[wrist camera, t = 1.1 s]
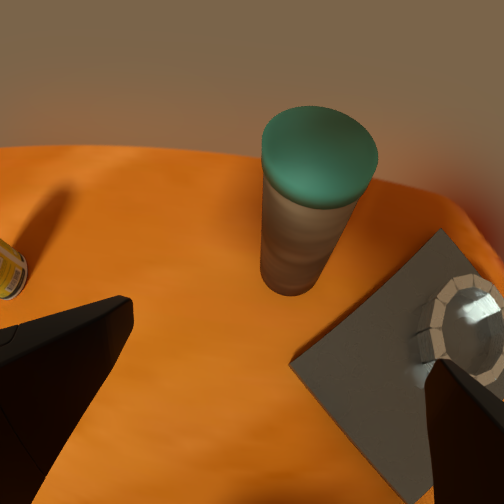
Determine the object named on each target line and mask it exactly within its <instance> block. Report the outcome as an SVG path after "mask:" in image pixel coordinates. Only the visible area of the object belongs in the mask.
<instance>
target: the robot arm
mask: <svg viewBox="0 0 504 504" xmlns="http://www.w3.org/2000/svg"><path fill="white" fill-rule="evenodd" d="M133 326H134V315H133V302H132V300H131V299H130V298H128V297H124V296H121V295H117V296H114V297H111V298H107V299H104V300H100V301H97V302H94V303H90V304H87V305H83V306H80V307H76V308H73V309H70V310H66V311H63V312H59V313H56V314H52V315H49V316H45V317H42V318H39V319H35V320H32V321H28V322H25V323H21V324H19V325H14V326H11V327H7V328H3V329H0V504H31V503H32V501H33V499H34V498H35V496H36V494H37V492H38V490H39V489H40V487H41V485H42V483H43V482H44V480H45V477H46V476H47V474H48V472H49V471H50V469H51V467H52V465H53V464H54V462H55V460H56V459H57V457H58V455H59V454H60V452H61V450H62V448H63V447H64V445H65V443H66V442H67V440H68V439H69V437H70V435H71V434H72V432H73V430H74V429H75V427H76V425H77V424H78V422H79V421H80V419H81V417H82V416H83V414H84V413H85V411H86V409H87V408H88V406H89V405H90V403H91V401H92V400H93V398H94V397H95V395H96V394H97V392H98V390H99V389H100V387H101V386H102V384H103V383H104V381H105V380H106V378H107V377H108V375H109V373H110V372H111V370H112V369H113V367H114V365H115V363H116V361H117V359H118V357H119V355H120V353H121V351H122V349H123V347H124V345H125V343H126V341H127V339H128V337H129V335H130V333H131V331H132V329H133ZM424 390H425V404H426V422H427V433H428V440H429V448H430V456H431V465H432V475H433V487H434V503H435V504H504V402H503V401H502V400H501V399H499V398H498V397H497V396H496V395H494V394H493V393H492V392H491V391H490V390H488V389H487V388H486V387H485V386H483V385H482V384H481V383H480V382H478V381H477V380H476V379H475V378H473V377H472V376H471V375H470V374H468V373H467V372H466V371H464V370H463V369H462V368H461V367H459V366H458V365H457V364H456V363H454V362H453V361H452V360H450V359H443V358H439V359H437V360H436V362H435V363H434V365H433V367H432V369H431V370H430V372H429V374H428V376H427V378H426V380H425V383H424Z"/></svg>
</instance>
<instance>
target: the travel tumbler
mask: <svg viewBox="0 0 504 504" xmlns="http://www.w3.org/2000/svg"><path fill="white" fill-rule="evenodd" d="M261 162H262V169H263V202H262V230H261V257H260V272H261V276H262V278H263V280H264V282H265V284H266V285H267V286H268V287H269V288H270V289H271V290H273V291H274V292H276V293H278V294H280V295H284V296H298V295H301V294H303V293H306V292H307V291H309V290H310V289H311V288H312V287H313V286H314V284H315V283H316V281H317V279H318V278H319V276H320V274H321V272H322V270H323V268H324V266H325V265H326V263H327V261H328V259H329V257H330V255H331V253H332V251H333V249H334V247H335V246H336V244H337V242H338V240H339V238H340V236H341V234H342V232H343V230H344V228H345V226H346V224H347V222H348V220H349V218H350V216H351V214H352V212H353V210H354V208H355V206H356V204H357V202H358V200H359V198H360V197H361V196H362V194H363V193H364V192H365V190H366V188H367V187H368V185H369V182H370V180H371V178H372V176H373V174H374V172H375V170H376V167H377V164H378V151H377V147H376V145H375V142H374V140H373V138H372V137H371V135H370V134H369V132H368V131H367V130H366V129H365V128H364V127H363V126H362V125H360V123H358V122H357V121H356V120H354V119H352V118H351V117H349V116H348V115H346V114H343V113H341V112H339V111H336V110H333V109H329V108H325V107H318V106H301V107H295V108H292V109H288V110H286V111H283V112H281V113H279V114H278V115H276V116H275V117H273V119H272V120H270V121H269V123H268V124H267V125H266V127H265V129H264V132H263V135H262V158H261Z"/></svg>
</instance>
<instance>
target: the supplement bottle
mask: <svg viewBox="0 0 504 504" xmlns="http://www.w3.org/2000/svg"><path fill="white" fill-rule="evenodd" d="M26 279H27V263H26V260H25V258H24V257H23V255H22V254H20V253H19V252H18V251H16V250H15V249H14V248H12V247H11V246H10V245H8V244H7V243H6V242H4V241H3V240H2V239H0V298H1V299H4V300H10V299H12V298H14V297H16V296H17V295H18V294H19V293H20V292H21V290H22V289H23V287H24V285H25V282H26Z"/></svg>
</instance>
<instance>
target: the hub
mask: <svg viewBox="0 0 504 504" xmlns="http://www.w3.org/2000/svg"><path fill="white" fill-rule="evenodd" d="M439 358H443V359H450V360H452V361H453V362H454V363H456V364H457V365H458V366H459V367H461V368H462V369H463V370H464V371H466V372H467V373H468V374H470V375H471V376H472V377H473V378H475V379H476V380H477V381H478V382H480V383H481V384H482V385H483V386H485V387H486V388H487V389H488V390H490V391H491V392H492V393H493V394H494V395H496V396H497V397H498V398H499V399H501V400H503V399H504V298H503V297H502V295H501V294H500V293H499V291H498V290H497V288H496V287H495V286H494V284H493V285H492V283H491V282H489V281H487V280H485V279H483V278H482V277H481V276H480V275H479V273H478V272H477V271H476V269H475V268H474V267H473V266H472V264H471V263H470V262H469V261H468V259H467V258H466V257H465V256H464V254H463V253H462V252H461V251H460V250H459V248H458V247H457V246H456V245H455V244H454V242H453V241H452V240H451V239H450V238H449V237H448V235H447V234H446V233H445V232H444V231H443V230H442V228H440V229H439V230H438V231H437V232H436V233H435V234H434V236H433V237H432V238H431V239H430V240H429V241H428V242H427V243H426V244H425V245H424V246H423V247H422V248H421V249H420V250H419V251H418V252H417V253H416V254H415V255H414V256H413V257H412V258H411V259H410V260H409V261H408V262H407V263H406V264H405V265H404V266H403V267H402V268H401V269H400V270H399V271H398V272H397V273H396V274H394V275H393V276H392V277H391V278H390V279H389V280H388V281H387V282H386V283H385V284H384V285H383V286H382V287H381V288H380V289H378V290H377V291H376V292H375V293H374V294H373V295H372V296H371V297H370V298H369V299H367V300H366V301H365V302H364V303H363V304H362V305H361V306H360V307H358V308H357V309H356V310H355V311H354V312H353V313H352V314H350V315H349V316H348V317H347V318H346V319H345V320H343V321H342V322H341V323H340V324H339V325H337V326H336V327H335V328H334V329H333V330H332V331H330V332H329V333H328V334H327V335H325V336H324V337H323V338H322V339H321V340H319V341H318V342H317V343H316V344H314V345H313V346H312V347H311V348H309V349H308V350H307V351H306V352H304V353H303V354H302V355H300V356H299V357H298V358H297V359H295V360H294V361H293V362H291V363H290V364H289V367H290V368H291V369H292V370H293V372H294V373H295V374H296V375H297V377H298V378H299V379H300V380H301V382H302V383H303V384H304V385H305V387H306V388H307V389H308V390H309V392H310V393H311V394H312V395H313V396H314V398H315V399H316V400H317V401H318V403H319V404H320V405H321V406H322V407H323V409H324V410H325V411H326V412H327V414H328V415H329V416H330V417H331V418H332V420H333V421H334V422H335V423H336V424H337V426H338V427H339V428H340V429H341V430H342V431H343V433H344V434H345V435H346V436H347V437H348V439H349V440H350V441H351V442H352V443H353V444H354V446H355V447H356V448H357V449H358V450H359V451H360V453H361V454H362V455H363V456H364V457H365V458H366V460H367V461H368V462H369V463H370V464H371V465H372V467H373V468H374V469H375V470H376V471H377V472H378V473H379V474H380V476H381V477H382V478H383V479H384V480H385V481H386V482H387V484H388V485H389V486H390V487H391V488H392V489H393V490H394V491H395V492H396V494H397V495H398V496H399V497H400V498H401V499H402V500H403V501H404V502H405V503H406V504H414V503H415V502H416V501H417V500H419V499H420V498H421V497H422V496H423V495H424V494H425V493H426V492H427V491H428V490H429V489H430V488H431V487H432V486H433V475H432V465H431V456H430V448H429V440H428V433H427V422H426V404H425V390H424V383H425V380H426V378H427V376H428V374H429V372H430V370H431V369H432V367H433V365H434V363H435V362H436V360H437V359H439Z"/></svg>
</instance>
